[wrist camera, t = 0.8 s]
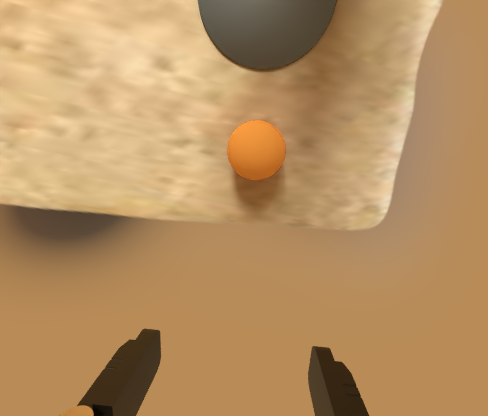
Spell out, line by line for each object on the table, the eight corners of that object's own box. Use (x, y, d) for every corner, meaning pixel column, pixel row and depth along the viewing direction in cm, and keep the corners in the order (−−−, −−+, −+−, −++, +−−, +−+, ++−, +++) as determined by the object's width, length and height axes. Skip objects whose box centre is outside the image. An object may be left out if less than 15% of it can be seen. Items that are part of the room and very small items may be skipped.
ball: (259, 112, 26) (258, 100, 20) (293, 153, 27) (302, 153, 21) (220, 149, 27) (209, 148, 21) (254, 187, 28) (252, 196, 22)
